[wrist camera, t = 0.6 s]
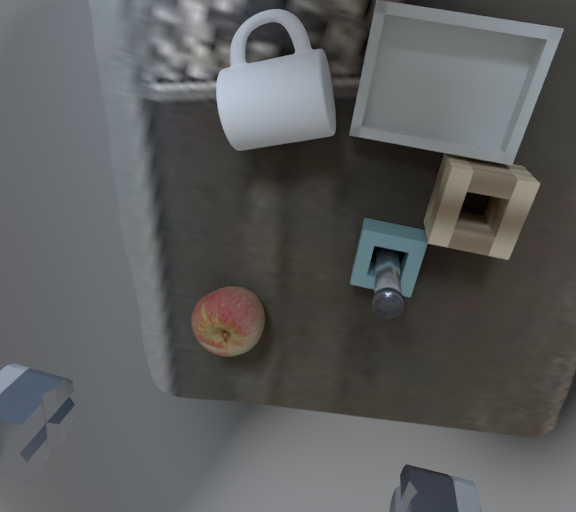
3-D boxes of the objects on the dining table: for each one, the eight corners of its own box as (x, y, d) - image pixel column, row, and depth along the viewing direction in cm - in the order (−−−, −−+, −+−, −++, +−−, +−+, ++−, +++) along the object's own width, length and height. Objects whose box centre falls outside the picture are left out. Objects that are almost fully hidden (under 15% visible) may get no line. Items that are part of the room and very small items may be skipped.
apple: (195, 289, 62) (170, 323, 55) (249, 264, 59) (230, 297, 52) (230, 338, 64) (211, 376, 57) (283, 317, 61) (270, 354, 54)
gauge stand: (364, 217, 53) (363, 229, 50) (425, 230, 52) (427, 242, 49) (351, 270, 56) (349, 284, 53) (409, 282, 55) (410, 297, 52)
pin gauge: (377, 236, 54) (375, 288, 43) (403, 242, 53) (407, 295, 43) (371, 259, 55) (368, 314, 44) (396, 264, 55) (399, 321, 44)
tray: (376, 1, 43) (376, -1, 41) (552, 28, 42) (564, 28, 39) (350, 129, 49) (349, 135, 46) (504, 157, 47) (512, 165, 45)
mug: (339, 126, 49) (331, 144, 42) (250, 141, 51) (229, 160, 44) (320, 0, 44) (308, -4, 37) (223, 23, 47) (195, 23, 40)
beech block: (444, 151, 48) (452, 167, 43) (523, 166, 47) (540, 183, 42) (423, 221, 52) (427, 243, 46) (495, 235, 51) (508, 260, 46)
